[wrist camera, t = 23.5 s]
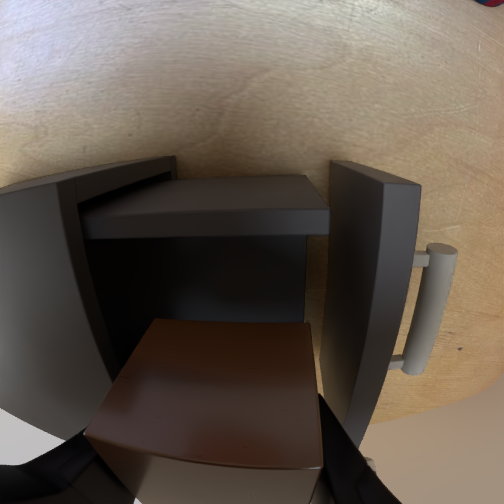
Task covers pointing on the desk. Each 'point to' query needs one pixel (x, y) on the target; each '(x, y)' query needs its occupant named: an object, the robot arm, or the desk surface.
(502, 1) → the mug
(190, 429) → the block
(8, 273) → the cabinet
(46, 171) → the desk surface
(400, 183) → the drawer
